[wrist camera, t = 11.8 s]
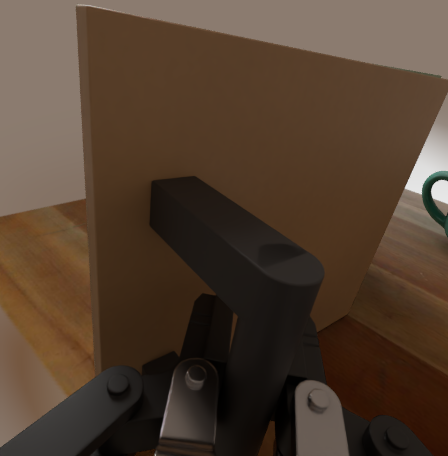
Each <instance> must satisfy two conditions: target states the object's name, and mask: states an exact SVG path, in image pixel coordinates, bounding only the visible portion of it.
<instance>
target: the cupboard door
mask: <svg viewBox="0 0 448 456" xmlns="http://www.w3.org/2000/svg"><path fill="white" fill-rule="evenodd" d="M76 18H77V37H78V56H79V73H80V74H79V75H80V94H81V113H82V131H83V132H82V133H83V152H84V171H85V190H86V209H87V228H88V247H89V266H90V285H91V304H92V323H93V342H94V361H95V377H96V376H98V375H99V374H100V373H102V372H103V371H105V370H106V369H108V368H110V367H114V366H119V365H125V366H130V367H132V368H135V369H136V370H137V371H138V372H139V373H140V374H141V375H149V374H157V373H161V372H164V371H166V370H168V369H170V368H171V367H172V366H173V365H174V364H175V363H176V362H177V360H178V359H179V356H180V353H181V349H182V346H183V342H184V338H185V335H186V331H187V327H188V324H189V320H190V316H191V313H192V309H193V305H194V301H195V300H196V299H197V298H198V297H199V296H200V295H201V294H202V293H205V294H210V295H217V296H218V297H219V298H220V299H221V300H222V301H223V302H224V303H225V304H226V305H227V306H228V307H229V308H230V309H231V310H232V311H233V312H234V314H233V323H232V332H231V341H230V350H229V356H228V360H227V365H226V369H225V373H224V377H223V382H222V386H221V390H220V394H219V399H218V407H217V421H216V436H215V451H216V456H257V454H258V452H259V449H260V446H261V444H262V441H263V438H264V436H265V433H266V431H267V428H268V425H269V423H270V420H271V417H272V415H273V412H274V409H275V407H276V404H277V401H278V399H279V396H280V393H281V391H282V388H283V385H284V383H285V380H286V377H287V375H288V372H289V369H290V367H291V364H292V361H293V359H294V356H295V353H296V351H297V348H298V345H299V343H300V340H301V337H302V335H303V332H304V329H305V327H306V324H307V321H308V319H309V316H310V317H311V318H312V320H313V321H314V323H315V325H316V330H317V332H319V331H320V330H322V329H324V328H325V327H327V326H329V325H330V324H332V323H334V322H335V321H337V320H339V319H340V318H342V317H344V316H345V315H347V314H348V313H349V310H350V308H351V306H352V304H353V302H354V299H355V297H356V295H357V293H358V290H359V288H360V286H361V284H362V282H363V279H364V277H365V275H366V273H367V270H368V268H369V266H370V264H371V262H372V259H373V257H374V255H375V253H376V250H377V248H378V246H379V244H380V241H381V239H382V237H383V235H384V233H385V230H386V228H387V226H388V224H389V221H390V219H391V217H392V215H393V213H394V210H395V208H396V206H397V204H398V201H399V199H400V197H401V195H402V193H403V190H404V188H405V186H406V184H407V181H408V179H409V177H410V175H411V172H412V170H413V168H414V166H415V164H416V161H417V159H418V157H419V155H420V153H421V150H422V148H423V146H424V144H425V141H426V139H427V137H428V135H429V132H430V130H431V128H432V126H433V124H434V121H435V119H436V117H437V114H438V112H439V110H440V108H441V106H442V104H443V101H444V99H445V96H446V95H447V92H448V80H447V79H442V78H438V77H433V76H428V75H423V74H418V73H413V72H409V71H404V70H399V69H394V68H389V67H384V66H380V65H375V64H370V63H365V62H360V61H355V60H350V59H345V58H341V57H336V56H331V55H326V54H321V53H317V52H312V51H307V50H301V49H297V48H292V47H288V46H283V45H278V44H273V43H268V42H263V41H259V40H254V39H249V38H244V37H239V36H234V35H229V34H224V33H220V32H215V31H210V30H205V29H201V28H196V27H191V26H186V25H181V24H176V23H172V22H167V21H161V20H157V19H152V18H147V17H142V16H138V15H133V14H128V13H123V12H118V11H114V10H109V9H103V8H99V7H94V6H89V5H76Z"/></svg>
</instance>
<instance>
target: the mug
mask: <svg viewBox="0 0 448 456" xmlns="http://www.w3.org/2000/svg"><path fill="white" fill-rule="evenodd" d="M438 180H447V181H448V171H439V172H436V173H434V174H432V175H431V176H429V177H428V178H427V180H426V181H425V183H424V184H423V188H422V198H423V203H424V206H425V208H426V210H427V211H428V213H429V214H430V216H431V217H432V218H433V219H434V220H435V221H436V222H437V223H438V224H440V225H441V226H442V227H443V228H444V229H445V233H446V235H447V237H448V213H447V216H445V215H444V214H443V213H442V212H441V211H440V210H439V209H438V207H437V206H436V204H435V203H434V201H433V198H432V195H431V188H432V186H433V184H434V183H435V182H436V181H438Z"/></svg>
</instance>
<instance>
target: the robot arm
mask: <svg viewBox="0 0 448 456" xmlns="http://www.w3.org/2000/svg"><path fill="white" fill-rule="evenodd" d="M233 314H234V312H233V311H232V310H231V309H230V308H229V307H228V306H227V305H226V304H225V303H224V302H223V301H222V300H221V299H220V298H219V297H218V296H217V295H210V294H205V293H202V294H201V295H200V296H199V297H198V298H197V299H196V300H195V301H194V305H193V309H192V313H191V316H190V320H189V324H188V327H187V331H186V335H185V338H184V342H183V346H182V349H181V353H180V356H179V359H178V360H177V362H176V363H175V364H174V365H173V366H172V367H171V368H170V369H168V370H166V371H164V372H161V373H157V374H149V375H141V374H140V373H139V372H138V371H137V370H136V369H135V368H132V367H130V366H125V365H119V366H114V367H110V368H108V369H106V370H105V371H103V372H102V373H100V374H99V375H98V376H96V377H95V378H94V379H92V380H91V381H90V382H88V383H87V384H85V385H84V386H83V387H81V388H80V389H79V390H77V391H76V392H75V393H73V394H72V395H71V396H69V397H68V398H67V399H65V400H64V401H63V402H61V403H60V404H58V405H57V406H56V407H54V408H53V409H52V410H50V411H49V412H48V413H46V414H45V415H44V416H42V417H41V418H40V419H38V420H37V421H36V422H34V423H33V424H31V425H30V426H29V427H27V428H26V429H25V430H23V431H22V432H21V433H19V434H18V435H17V436H15V437H14V438H13V439H11V440H10V441H9V442H7V443H6V444H4V445H3V446H2V447H0V456H134V455H135V454H136V453H137V452H140V451H146V450H151V449H156V450H155V454H154V456H216V451H215V436H216V421H217V407H218V399H219V394H220V390H221V386H222V382H223V377H224V373H225V369H226V365H227V360H228V356H229V350H230V341H231V332H232V323H233ZM271 421H275V440H274V445H273V456H433V455H432V454H431V452H430V451H429V450H428V449H427V448H426V447H425V446H424V444H423V443H422V442H421V441H420V440H419V439H418V437H417V436H416V435H415V434H414V433H413V432H412V431H411V430H410V429H409V428H408V427H407V426H406V425H405V424H404V423H402V422H401V421H399V420H398V419H396V418H394V417H391V416H387V415H379V416H376V417H374V418H373V419H372V421H371V422H369V421H367V420H365V419H363V418H361V417H359V416H357V415H356V414H354V413H352V412H350V411H348V410H346V409H345V408H343V407H342V406H341V403H340V401H339V398H338V397H337V395H336V394H335V393H334V391H333V390H332V389H331V388H329V387H328V386H327V383H326V378H325V373H324V367H323V362H322V357H321V351H320V348H319V341H318V338H317V330H316V325H315V323H314V321H313V320H312V318H311V317H310V316H309V319H308V321H307V324H306V327H305V329H304V332H303V335H302V337H301V340H300V343H299V345H298V348H297V351H296V353H295V356H294V359H293V361H292V364H291V367H290V369H289V372H288V375H287V377H286V380H285V383H284V385H283V388H282V391H281V393H280V396H279V399H278V401H277V404H276V407H275V409H274V412H273V415H272V417H271Z"/></svg>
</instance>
